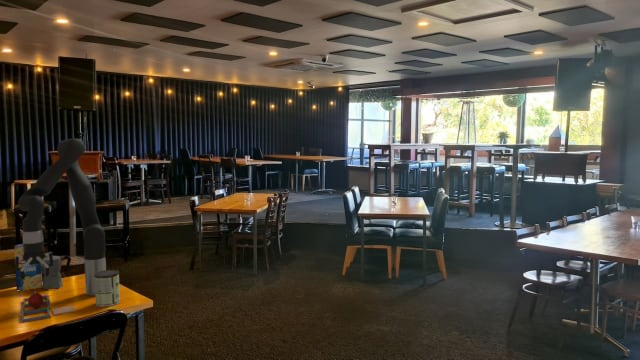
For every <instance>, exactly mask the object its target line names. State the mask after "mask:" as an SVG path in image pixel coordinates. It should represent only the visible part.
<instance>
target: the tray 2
mask: <svg viewBox="0 0 640 360" xmlns="http://www.w3.org/2000/svg"><path fill="white" fill-rule="evenodd" d="M46 301H47V300H46ZM27 304H28V303H27ZM41 306H47V307H42V308H41V307H39V308H38V309H34V308H33V309H29V310H26V309H27V308H28V307H29V308H32V307H31V306H29V304H28V305H24V304H22V312H28V311H34V310H40V309H46V308H49V311H51V305H50V303H49V302H48V301H47V302H43V304H42V305H41Z"/></svg>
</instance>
